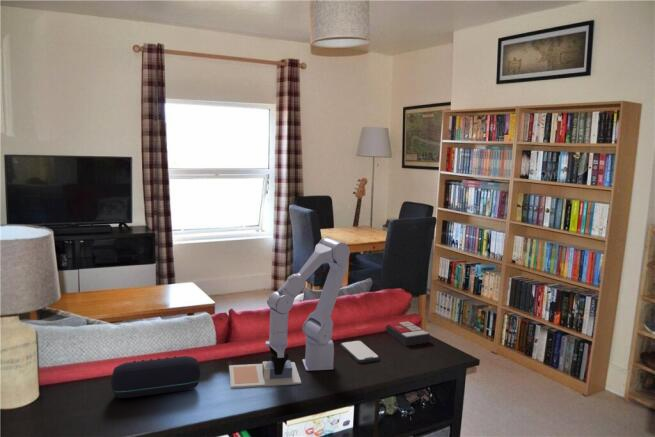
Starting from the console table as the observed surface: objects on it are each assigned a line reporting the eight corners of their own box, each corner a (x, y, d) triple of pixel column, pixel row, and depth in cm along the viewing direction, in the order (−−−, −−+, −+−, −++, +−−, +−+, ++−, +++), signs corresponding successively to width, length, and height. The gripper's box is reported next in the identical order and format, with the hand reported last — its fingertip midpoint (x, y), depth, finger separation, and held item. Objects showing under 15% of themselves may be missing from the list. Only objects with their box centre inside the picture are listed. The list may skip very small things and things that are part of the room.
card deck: (289, 369, 173) (289, 360, 172) (291, 377, 167) (292, 367, 167) (262, 371, 171) (262, 361, 170) (263, 379, 165) (264, 369, 165)
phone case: (339, 346, 195) (358, 364, 181) (339, 342, 195) (358, 360, 181) (360, 343, 199) (380, 361, 184) (360, 339, 199) (380, 357, 184)
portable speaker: (197, 378, 165) (197, 349, 163) (201, 394, 156) (202, 363, 154) (112, 389, 156) (111, 358, 154) (111, 406, 147) (110, 374, 145)
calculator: (408, 320, 215) (430, 332, 201) (408, 330, 215) (429, 343, 202) (385, 323, 210) (406, 336, 197) (385, 333, 211) (405, 346, 197)
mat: (294, 363, 178) (294, 361, 178) (301, 383, 165) (301, 382, 165) (229, 367, 174) (229, 365, 173) (230, 388, 160) (230, 386, 160)
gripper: (263, 320, 172) (262, 359, 175) (268, 339, 158) (266, 380, 161) (284, 320, 174) (283, 358, 176) (291, 338, 160) (289, 379, 162)
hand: (276, 368), depth 169 cm, fingers open, 7 cm apart
